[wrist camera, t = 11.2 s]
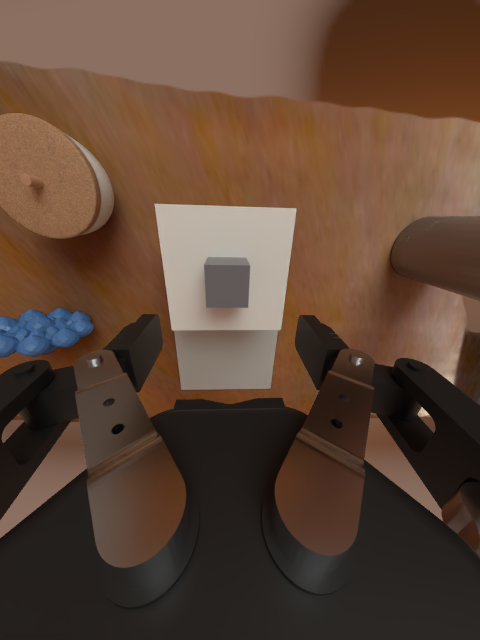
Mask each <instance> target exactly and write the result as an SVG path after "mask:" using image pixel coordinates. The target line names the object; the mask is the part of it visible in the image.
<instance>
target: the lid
mask: <svg viewBox="0 0 480 640" xmlns="http://www.w3.org/2000/svg"><path fill="white" fill-rule="evenodd" d="M155 210H156V217H157V225H158V232H159V239H160V247H161V254H162V262H163V269H164V276H165V284H166V291H167V298H168V306H169V313H170V320H171V328H172V330H281V325H282V317H283V309H284V302H285V294H286V286H287V278H288V271H289V263H290V255H291V247H292V240H293V232H294V224H295V216H296V208H265V207H235V206H204V205H174V204H155Z"/></svg>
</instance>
